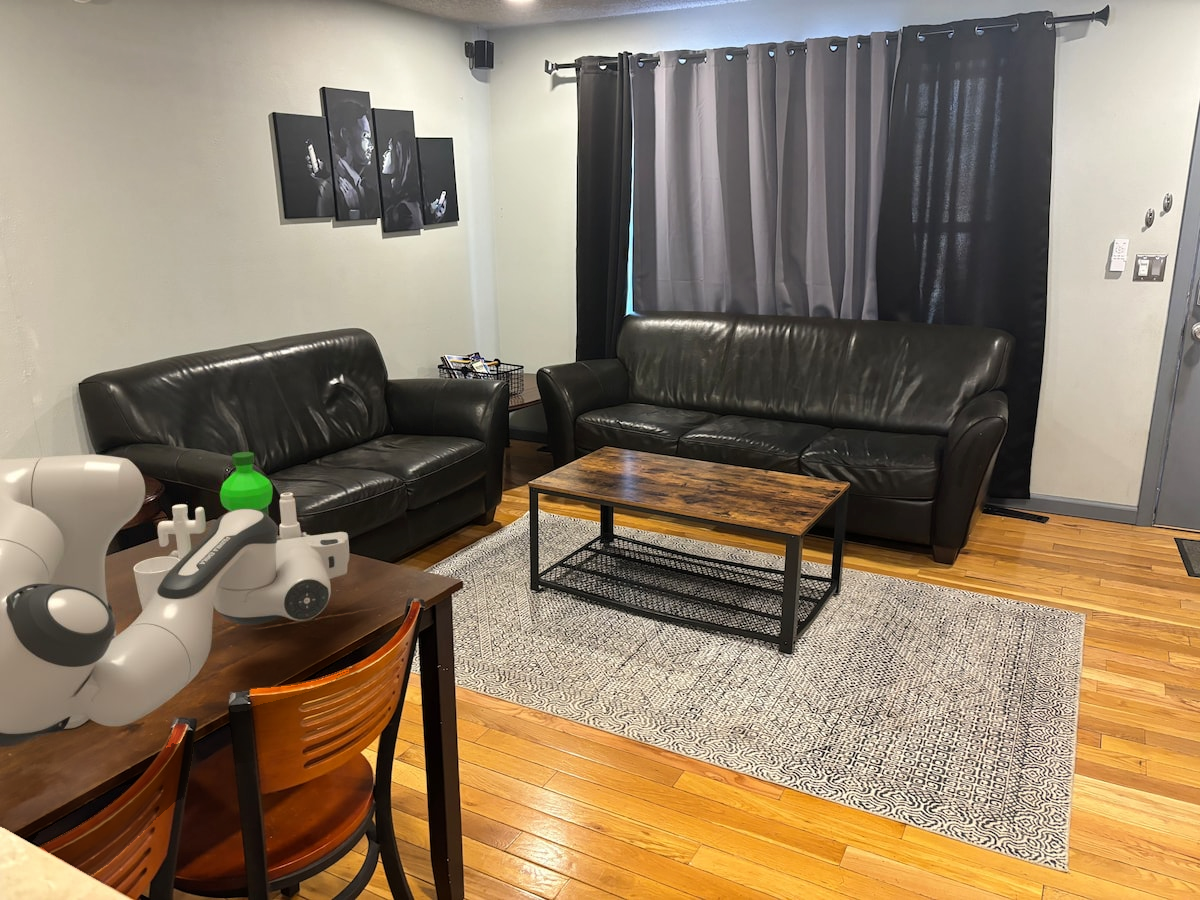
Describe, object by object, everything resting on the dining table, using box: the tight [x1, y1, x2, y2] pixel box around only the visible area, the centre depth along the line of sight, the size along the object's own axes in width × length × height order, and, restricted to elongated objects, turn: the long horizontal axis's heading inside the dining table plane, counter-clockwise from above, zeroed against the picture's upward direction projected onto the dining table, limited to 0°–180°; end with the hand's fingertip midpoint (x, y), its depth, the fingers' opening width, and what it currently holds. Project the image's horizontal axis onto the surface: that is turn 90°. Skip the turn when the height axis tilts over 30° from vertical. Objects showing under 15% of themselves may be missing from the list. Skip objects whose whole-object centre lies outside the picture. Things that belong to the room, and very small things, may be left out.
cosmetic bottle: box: [278, 492, 302, 540], centre depth 164 cm, size 6×6×22 cm
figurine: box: [157, 503, 207, 560], centre depth 179 cm, size 7×9×15 cm
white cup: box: [132, 556, 180, 611], centre depth 161 cm, size 8×8×10 cm
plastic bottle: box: [219, 451, 274, 517], centre depth 181 cm, size 10×10×25 cm
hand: (288, 538), depth 164 cm, fingers closed on cosmetic bottle, 3 cm apart
